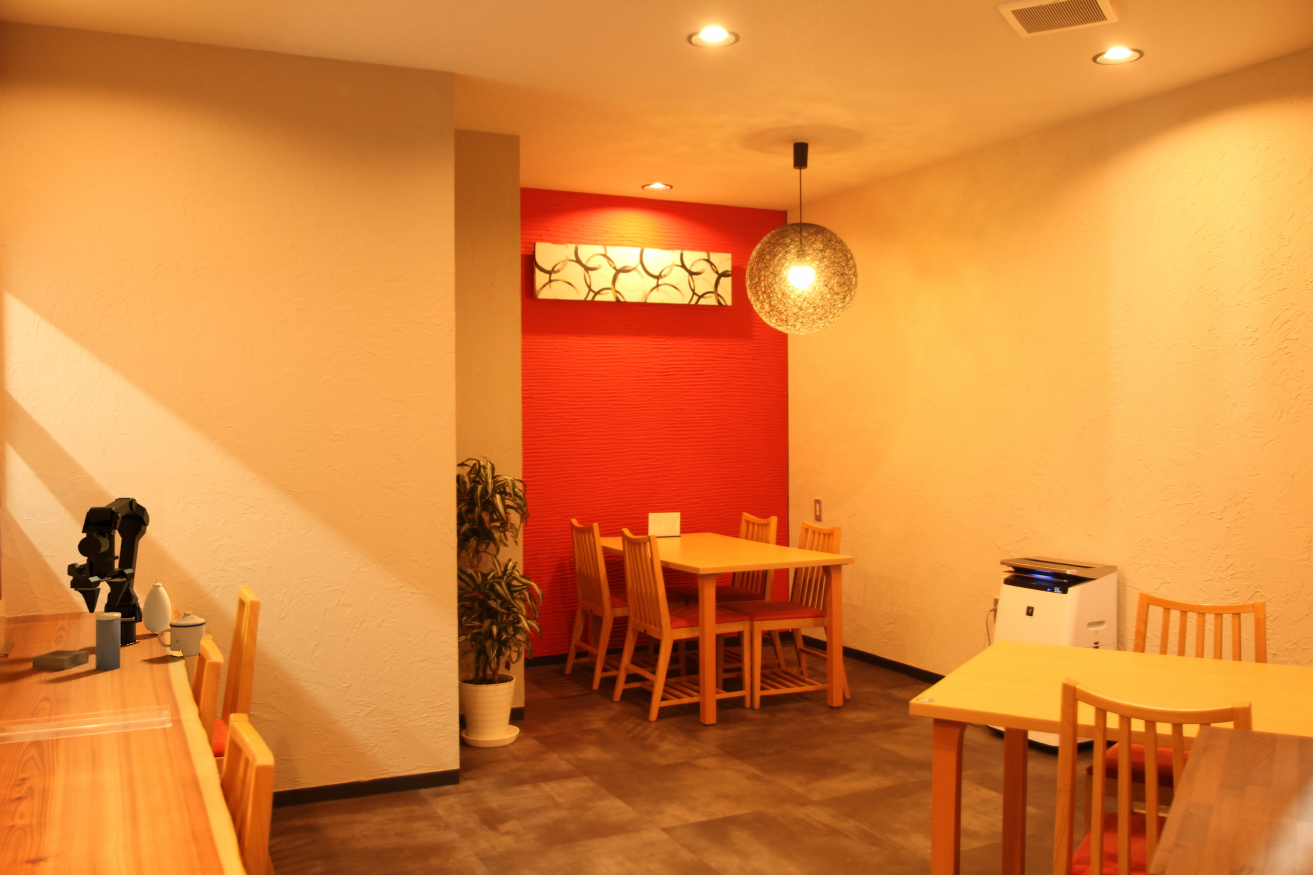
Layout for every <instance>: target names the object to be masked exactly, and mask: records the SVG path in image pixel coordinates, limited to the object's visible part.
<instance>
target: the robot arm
mask: <svg viewBox="0 0 1313 875" xmlns="http://www.w3.org/2000/svg"><path fill="white" fill-rule="evenodd" d="M149 524H150V515H149V512H148V510H147V508H146V507H145V506H143V505H142V504H140V503H138V502H137V500H136V498H134V497H118V498H115V499H114V500H113V501H112V502H110V503H108V504H106V505H105V506H91V507H90V508H89V509H88V511H87V512H86V514H85V517H84V521H83V525H82V528H81V534H85V536H84V537H82V538H81V539H80V541H78V544H77V549H78V553H79V554H80V555H81V556H82V557H84V558H86V559H85V560H86V562H85V563H82V564H78V563H77V562H74V563H70V564H67V570H66V572H67V573H66V575H67V576H69V577H72V578H71V580H70V581H69V588H70V589H73V590H74V592H78V593H79V594H80V595H81V596H82V597H83V598H82V599H83V600H84V602H85V605H86V607H87V610H88V613H89V614H94V613H95V611H96V607H97V606H98V605H97V604H98V601H99V596H100V592H101V589H102V588H101V587H100V585H101V583H104V582H105V583H106V584H107V586H108V587H109V590H110V591H109V592H108V593H107V595H106V596H107V597H106V603H104V609H103V613H110V612H117V613H121V623H120V644H121V645H127V644H130V643H133V642H136V640H137V638H136V637H137V624H138V623H143V609H142V608H141V606H140V603H139V597H138V596H137V594H136V592H135V590H134V586H135V577H136V569H137V561H138V560H137V559H138V552H139V551H138V550H139V544H140V543H139V542H140V541H141V539H142V538H144V536H145V535H146V533H147V528H148V526H149ZM116 531H117V532H116ZM116 533H118V535H119V536H120V538H121V539H120V540H121V541H120V548H119V555H116ZM116 560H118V563H117V568H116Z"/></svg>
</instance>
